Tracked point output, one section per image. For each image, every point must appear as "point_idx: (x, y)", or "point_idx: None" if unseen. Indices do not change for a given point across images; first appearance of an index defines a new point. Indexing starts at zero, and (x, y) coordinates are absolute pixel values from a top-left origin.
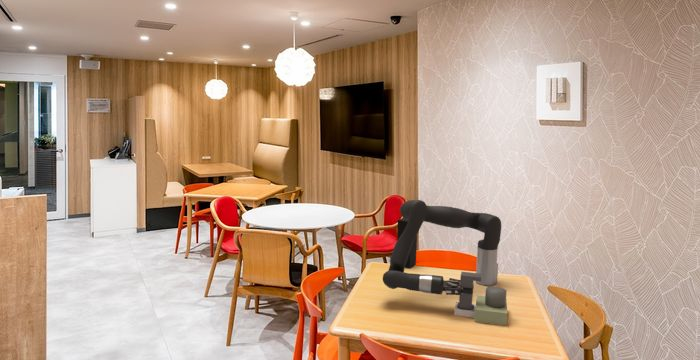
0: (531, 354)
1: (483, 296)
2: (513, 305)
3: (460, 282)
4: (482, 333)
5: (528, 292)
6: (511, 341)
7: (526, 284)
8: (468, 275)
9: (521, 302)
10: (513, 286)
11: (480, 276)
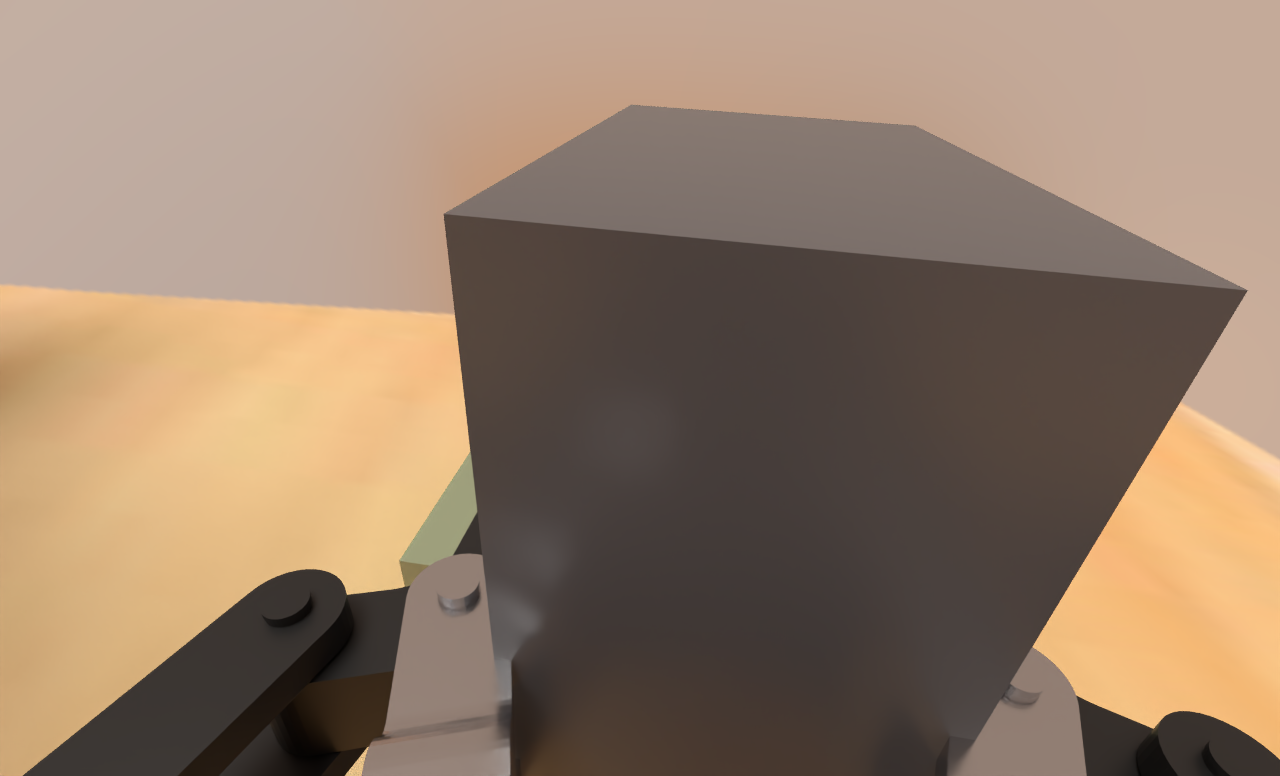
0: (1264, 451)
1: (464, 496)
2: (438, 398)
3: (1041, 610)
4: (1254, 715)
5: (220, 310)
6: (1173, 510)
7: (68, 295)
8: (935, 177)
9: (388, 358)
10: (44, 342)
11: (837, 121)
